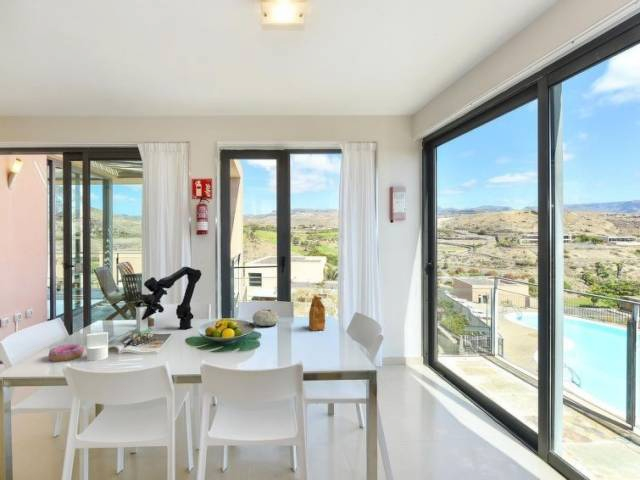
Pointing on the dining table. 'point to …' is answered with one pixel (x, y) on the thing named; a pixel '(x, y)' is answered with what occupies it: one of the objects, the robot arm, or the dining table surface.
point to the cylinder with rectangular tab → (97, 346)
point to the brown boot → (150, 320)
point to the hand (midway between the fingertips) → (140, 319)
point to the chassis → (142, 339)
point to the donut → (66, 352)
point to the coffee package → (317, 314)
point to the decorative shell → (265, 317)
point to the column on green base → (141, 321)
